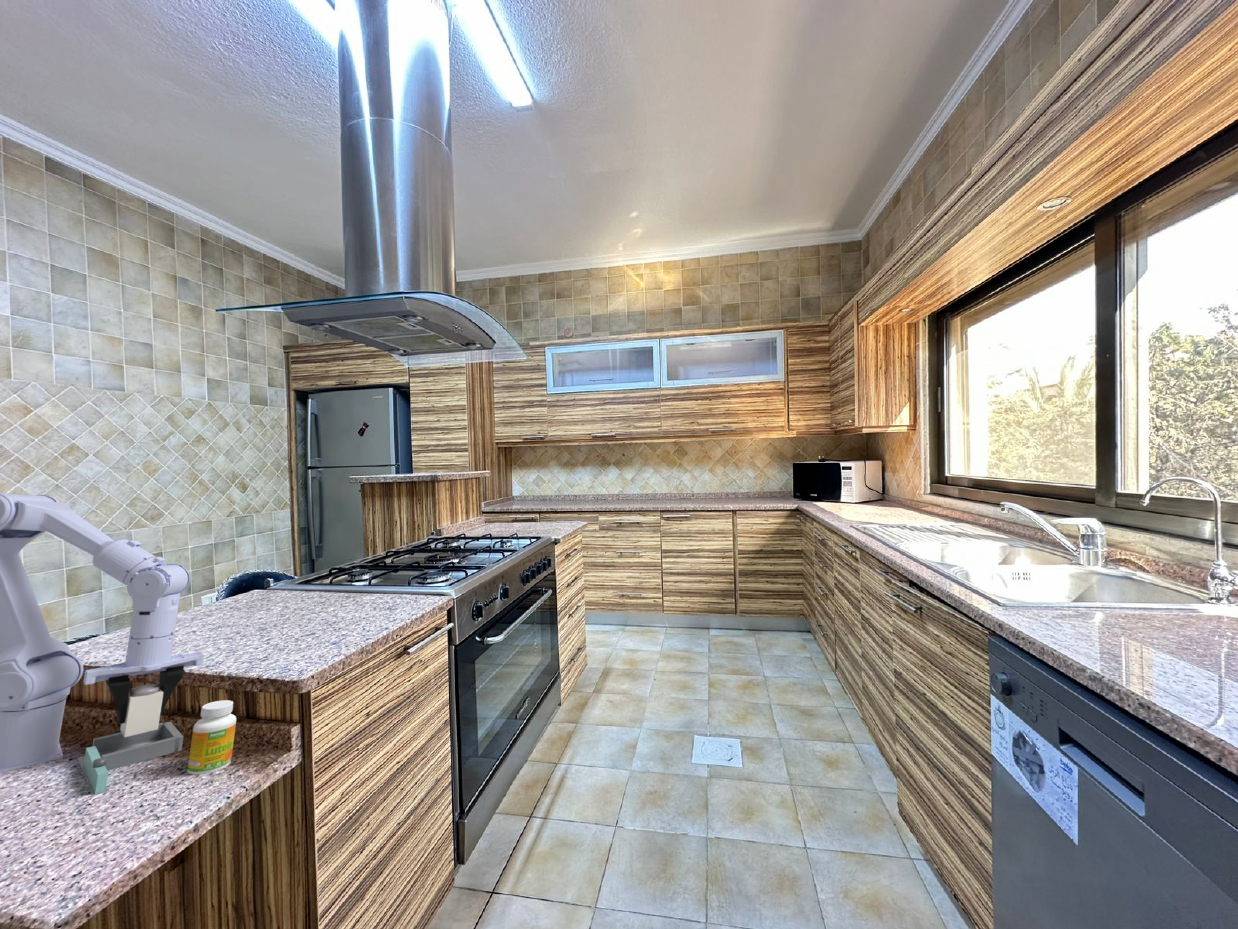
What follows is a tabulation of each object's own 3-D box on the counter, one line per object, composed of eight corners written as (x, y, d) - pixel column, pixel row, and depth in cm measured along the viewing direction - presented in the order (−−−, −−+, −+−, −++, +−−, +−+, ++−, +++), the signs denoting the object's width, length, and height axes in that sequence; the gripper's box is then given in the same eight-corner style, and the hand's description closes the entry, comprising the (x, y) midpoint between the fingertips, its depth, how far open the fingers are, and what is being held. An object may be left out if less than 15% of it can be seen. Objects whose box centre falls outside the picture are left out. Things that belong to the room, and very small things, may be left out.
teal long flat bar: (81, 765, 75) (85, 743, 75) (94, 761, 76) (97, 740, 77) (93, 794, 67) (97, 770, 68) (107, 790, 68) (111, 766, 69)
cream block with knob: (120, 730, 80) (126, 688, 80) (152, 722, 83) (159, 682, 83) (124, 737, 77) (131, 694, 78) (157, 729, 80) (164, 687, 81)
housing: (76, 758, 78) (79, 742, 78) (167, 735, 87) (169, 721, 87) (91, 797, 67) (94, 779, 67) (193, 767, 76) (196, 750, 76)
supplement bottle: (201, 779, 73) (210, 713, 74) (178, 772, 74) (187, 707, 76) (238, 763, 78) (246, 701, 79) (217, 757, 79) (224, 696, 81)
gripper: (94, 647, 74) (79, 739, 72) (212, 632, 86) (201, 711, 84) (88, 640, 78) (73, 726, 76) (201, 626, 90) (191, 701, 88)
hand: (140, 717), depth 80 cm, fingers closed on cream block with knob, 4 cm apart
